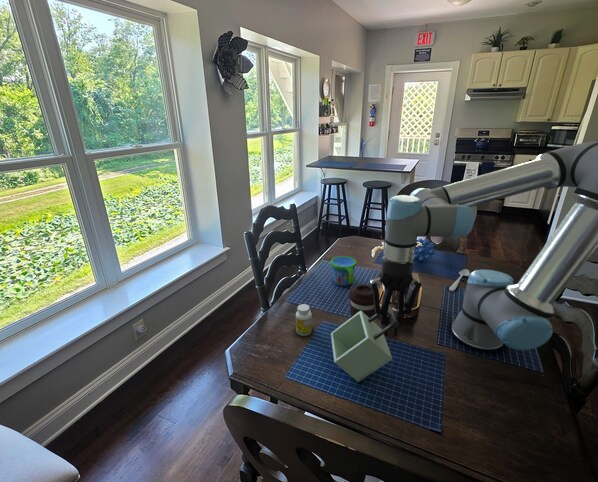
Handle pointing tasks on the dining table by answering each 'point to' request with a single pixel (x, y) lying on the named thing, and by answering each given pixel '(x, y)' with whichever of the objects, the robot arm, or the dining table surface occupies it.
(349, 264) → the snack cup
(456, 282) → the spoon
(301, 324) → the supplement bottle
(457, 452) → the dining table surface
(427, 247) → the grapes
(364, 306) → the coffee cup
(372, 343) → the pale green square box
